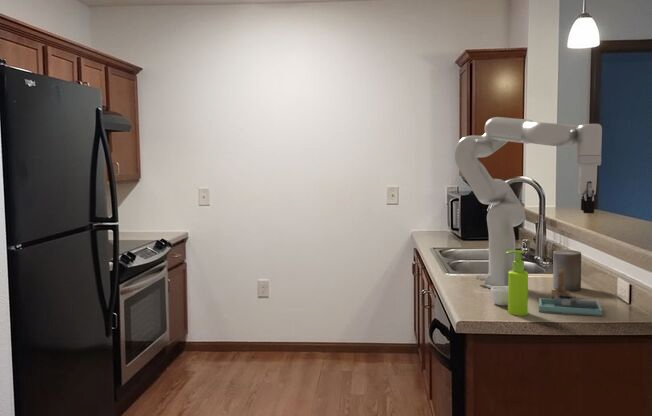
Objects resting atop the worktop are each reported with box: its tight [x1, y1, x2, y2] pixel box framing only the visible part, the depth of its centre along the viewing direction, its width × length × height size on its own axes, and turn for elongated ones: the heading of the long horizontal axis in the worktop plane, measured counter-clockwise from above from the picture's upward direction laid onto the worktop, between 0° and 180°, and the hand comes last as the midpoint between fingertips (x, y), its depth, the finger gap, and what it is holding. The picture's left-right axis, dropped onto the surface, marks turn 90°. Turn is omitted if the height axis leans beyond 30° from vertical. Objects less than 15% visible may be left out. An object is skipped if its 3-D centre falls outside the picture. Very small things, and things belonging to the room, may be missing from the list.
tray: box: [538, 297, 603, 317], centre depth 182 cm, size 18×10×2 cm, turn 70°
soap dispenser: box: [505, 249, 529, 317], centre depth 178 cm, size 6×7×20 cm
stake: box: [547, 269, 572, 299], centre depth 191 cm, size 8×8×11 cm
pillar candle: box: [552, 248, 582, 292], centre depth 210 cm, size 10×10×15 cm
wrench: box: [554, 295, 597, 309], centre depth 181 cm, size 12×6×4 cm, turn 71°
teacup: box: [490, 286, 508, 307], centre depth 191 cm, size 10×8×5 cm
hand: (587, 211), depth 191 cm, fingers open, 9 cm apart
